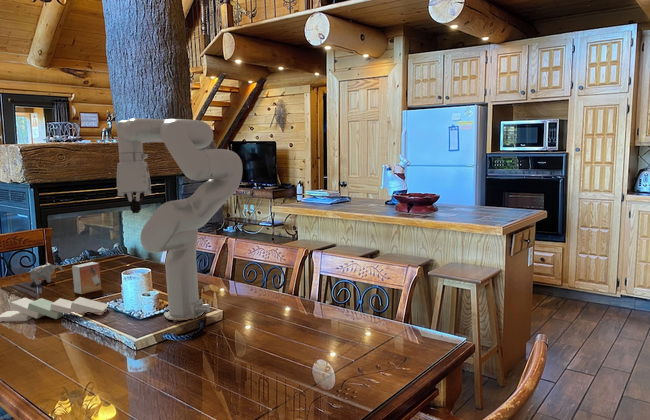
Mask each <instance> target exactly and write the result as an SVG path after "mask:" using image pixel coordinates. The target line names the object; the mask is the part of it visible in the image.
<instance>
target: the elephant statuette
mask: <svg viewBox="0 0 650 420" xmlns="http://www.w3.org/2000/svg"><path fill="white" fill-rule="evenodd" d="M57 268H59V269H60V271H61V272H64V269H63V267H62V266H61V265H59V264H57V265H56V264H52V263H49V262H45V264H44V265H40V266H36V267H34V268H32V269H31V270H30V271H29V277H30V279H31V282H34V284H35V286H37V285H38V286H40V285H41V282H40V279H42V280H43V281H44V280H46V281H45V282H47V284H50V283H51V282H52V274H54V272H55V269H57Z"/></svg>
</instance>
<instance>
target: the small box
mask: <svg viewBox="0 0 650 420" xmlns="http://www.w3.org/2000/svg"><path fill="white" fill-rule="evenodd" d="M71 270H72V278H73V279H72V280H73V281H72V282H73V292H74V293H76V294H80V295H84V294H88V293H92V292H97V291H101V290H102V284H101V283H102V281H101V271H100V263H99V262H95V261H90V262H85V263H81V264H77V265H72V266H71Z"/></svg>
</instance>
